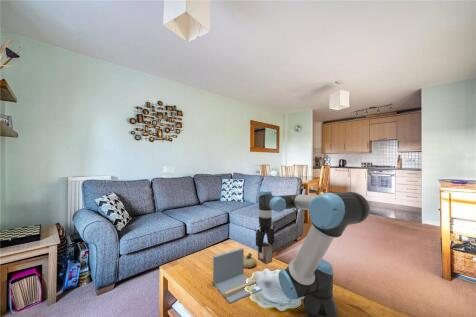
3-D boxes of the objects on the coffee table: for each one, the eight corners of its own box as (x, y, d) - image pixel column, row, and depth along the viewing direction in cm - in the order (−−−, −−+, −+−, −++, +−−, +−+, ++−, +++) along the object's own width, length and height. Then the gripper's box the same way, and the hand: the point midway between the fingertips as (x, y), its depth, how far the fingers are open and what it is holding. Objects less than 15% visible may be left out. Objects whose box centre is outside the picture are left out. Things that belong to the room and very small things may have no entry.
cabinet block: (272, 262, 113) (272, 244, 113) (266, 264, 110) (266, 246, 110) (264, 257, 119) (264, 240, 119) (257, 259, 116) (257, 242, 116)
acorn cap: (254, 271, 127) (259, 256, 133) (238, 263, 129) (244, 249, 135) (252, 274, 134) (256, 259, 141) (237, 267, 137) (243, 253, 143)
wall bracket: (261, 289, 108) (261, 260, 108) (229, 304, 97) (230, 271, 97) (240, 272, 125) (240, 247, 125) (212, 283, 114) (212, 255, 114)
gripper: (272, 213, 123) (272, 250, 122) (249, 217, 113) (249, 258, 112) (280, 215, 117) (281, 255, 116) (257, 220, 107) (257, 263, 106)
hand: (265, 256), depth 114 cm, fingers closed on cabinet block, 5 cm apart
